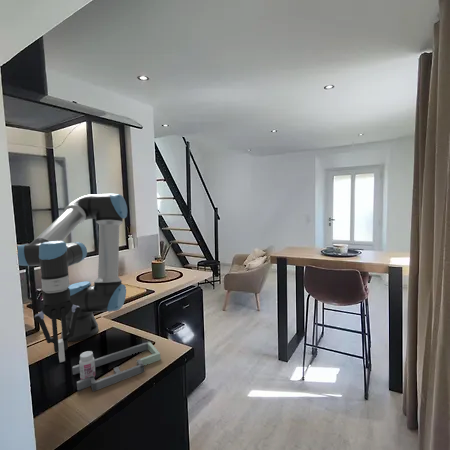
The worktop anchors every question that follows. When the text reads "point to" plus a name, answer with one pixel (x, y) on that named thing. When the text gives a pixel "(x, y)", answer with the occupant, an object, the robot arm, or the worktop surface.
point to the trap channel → (117, 374)
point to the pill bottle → (87, 365)
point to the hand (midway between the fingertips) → (62, 359)
